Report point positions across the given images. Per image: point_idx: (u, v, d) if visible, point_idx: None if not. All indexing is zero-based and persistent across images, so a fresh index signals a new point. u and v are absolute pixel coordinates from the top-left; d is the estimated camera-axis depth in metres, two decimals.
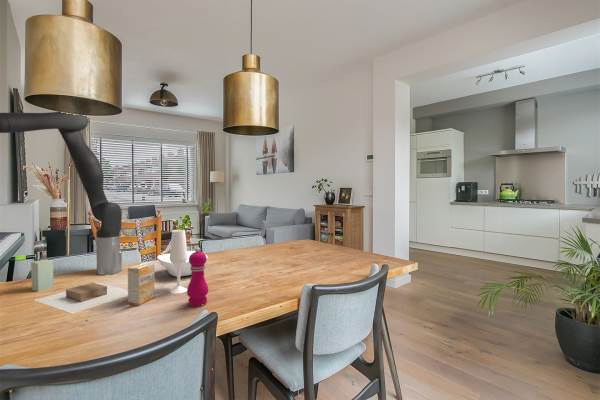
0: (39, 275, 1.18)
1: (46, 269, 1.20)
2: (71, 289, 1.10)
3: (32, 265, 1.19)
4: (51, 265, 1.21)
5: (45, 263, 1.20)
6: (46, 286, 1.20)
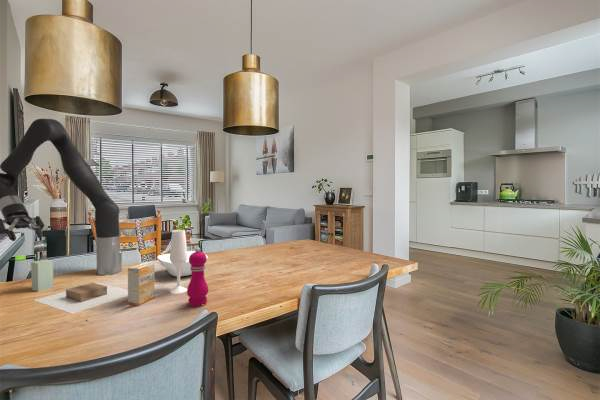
0: (39, 275, 1.18)
1: (46, 269, 1.20)
2: (71, 289, 1.10)
3: (32, 265, 1.19)
4: (51, 265, 1.21)
5: (45, 263, 1.20)
6: (46, 286, 1.20)
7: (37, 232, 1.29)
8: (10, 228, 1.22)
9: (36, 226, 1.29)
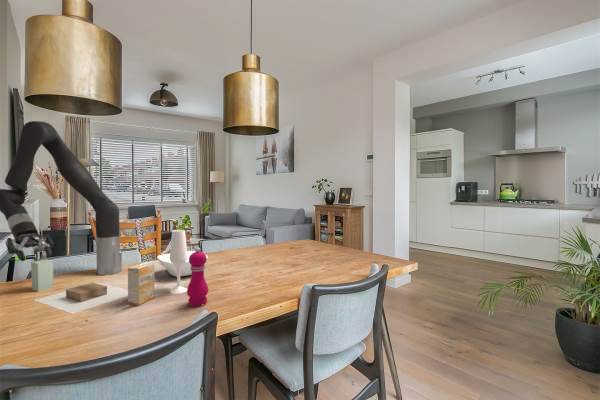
0: (39, 275, 1.18)
1: (46, 269, 1.20)
2: (71, 289, 1.10)
3: (32, 265, 1.19)
4: (51, 265, 1.21)
5: (45, 263, 1.20)
6: (46, 286, 1.20)
7: (47, 251, 1.26)
8: (19, 248, 1.19)
9: (46, 244, 1.27)
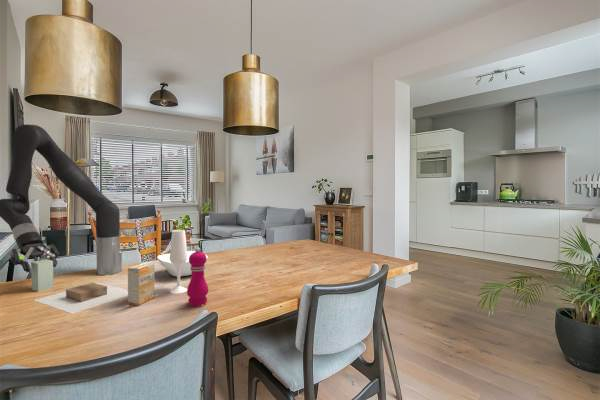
0: (39, 275, 1.18)
1: (46, 269, 1.20)
2: (71, 289, 1.10)
3: (32, 265, 1.19)
4: (51, 265, 1.21)
5: (45, 263, 1.20)
6: (46, 286, 1.20)
7: None
8: (24, 259, 1.17)
9: (51, 255, 1.25)
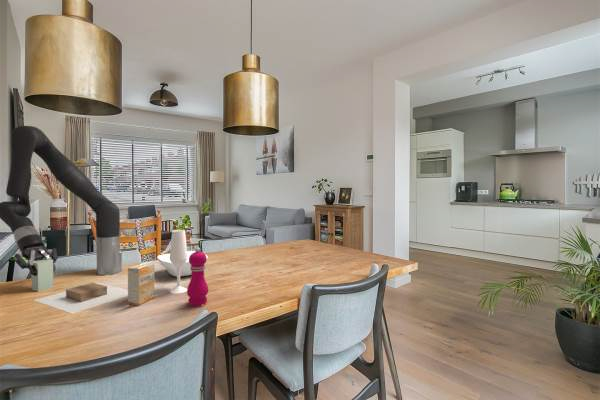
0: (39, 275, 1.18)
1: (46, 269, 1.20)
2: (71, 289, 1.10)
3: None
4: (51, 265, 1.21)
5: (45, 263, 1.20)
6: (46, 286, 1.20)
7: None
8: (31, 263, 1.18)
9: (49, 259, 1.23)
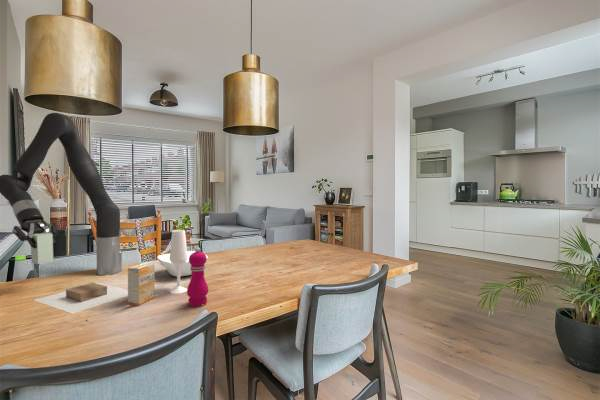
0: (39, 247, 1.18)
1: (46, 241, 1.20)
2: (71, 289, 1.10)
3: None
4: (50, 238, 1.21)
5: (44, 236, 1.19)
6: (46, 258, 1.20)
7: None
8: (31, 235, 1.18)
9: None
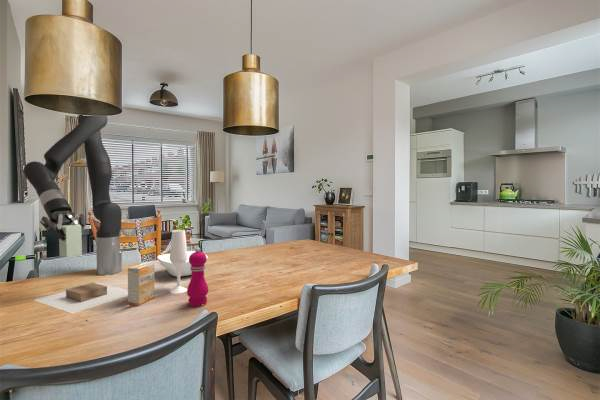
0: (67, 240, 1.10)
1: (75, 233, 1.12)
2: (71, 289, 1.10)
3: None
4: (79, 230, 1.14)
5: (73, 227, 1.12)
6: (75, 252, 1.13)
7: None
8: (59, 227, 1.11)
9: None
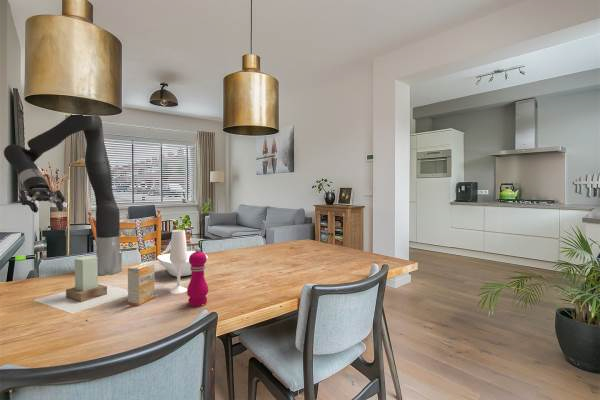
0: (84, 273, 1.08)
1: (91, 266, 1.10)
2: (71, 289, 1.10)
3: (76, 262, 1.09)
4: (96, 262, 1.12)
5: (90, 260, 1.10)
6: (91, 285, 1.10)
7: (58, 205, 1.29)
8: (32, 200, 1.21)
9: (57, 199, 1.29)
